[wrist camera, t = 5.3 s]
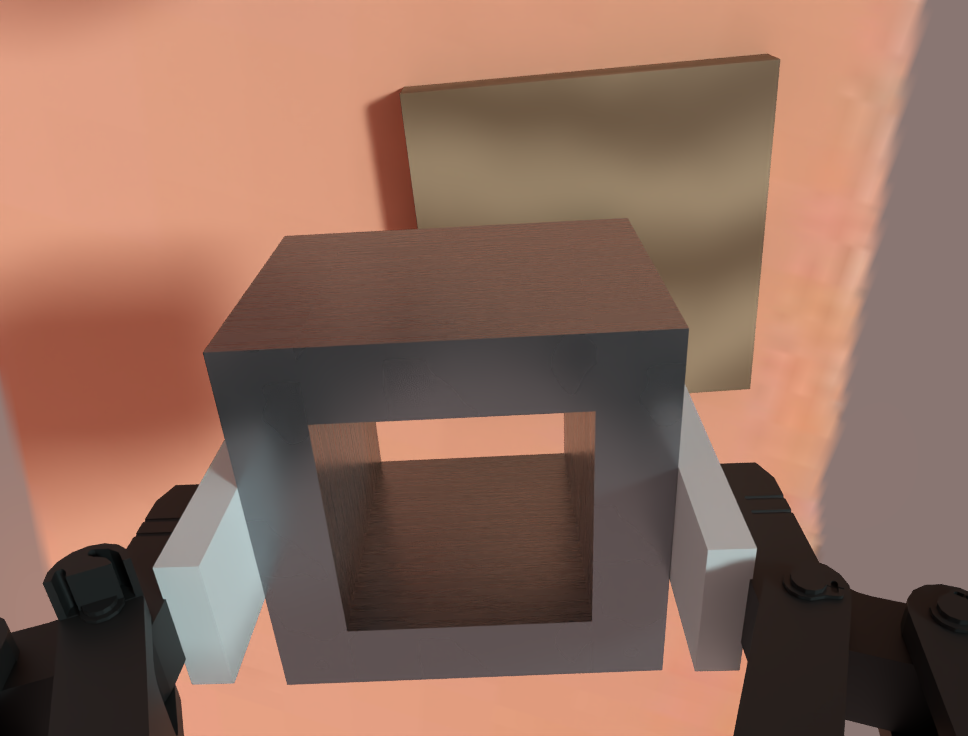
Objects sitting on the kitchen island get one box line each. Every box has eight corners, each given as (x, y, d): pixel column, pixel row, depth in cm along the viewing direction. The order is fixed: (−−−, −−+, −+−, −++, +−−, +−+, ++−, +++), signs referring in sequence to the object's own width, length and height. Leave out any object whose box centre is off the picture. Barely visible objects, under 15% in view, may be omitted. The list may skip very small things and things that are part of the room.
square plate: (403, 87, 30) (374, 135, 23) (767, 53, 29) (859, 92, 22) (444, 393, 37) (431, 507, 29) (740, 372, 36) (804, 484, 29)
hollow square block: (284, 236, 18) (202, 352, 13) (627, 218, 18) (689, 328, 13) (334, 507, 22) (287, 684, 16) (618, 494, 22) (661, 670, 16)
